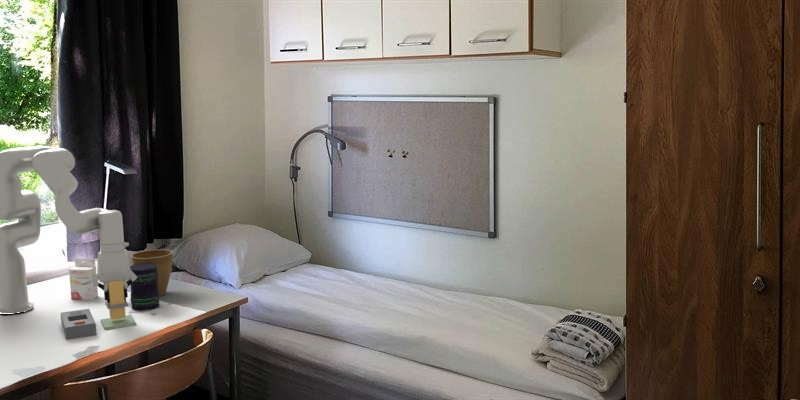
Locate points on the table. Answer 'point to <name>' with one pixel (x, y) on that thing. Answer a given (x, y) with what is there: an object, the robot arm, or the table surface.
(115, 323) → the mat
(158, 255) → the plant pot
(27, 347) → the table surface
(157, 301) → the storage jar
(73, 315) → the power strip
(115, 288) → the plug
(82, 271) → the ink cartridge box
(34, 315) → the table surface
